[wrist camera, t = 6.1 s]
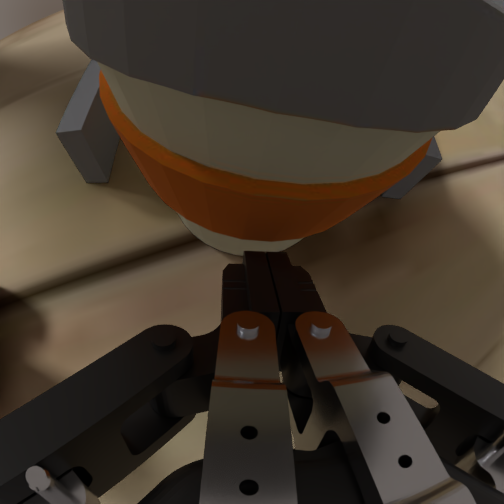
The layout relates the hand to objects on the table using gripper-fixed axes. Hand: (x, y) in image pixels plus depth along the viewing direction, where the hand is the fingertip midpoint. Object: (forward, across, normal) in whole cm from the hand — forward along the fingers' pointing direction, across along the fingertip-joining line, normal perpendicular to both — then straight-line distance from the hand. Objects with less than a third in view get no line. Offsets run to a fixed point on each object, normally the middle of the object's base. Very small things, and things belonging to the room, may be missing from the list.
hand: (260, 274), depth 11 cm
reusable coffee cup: (+8, 0, -1) cm, 8 cm away
